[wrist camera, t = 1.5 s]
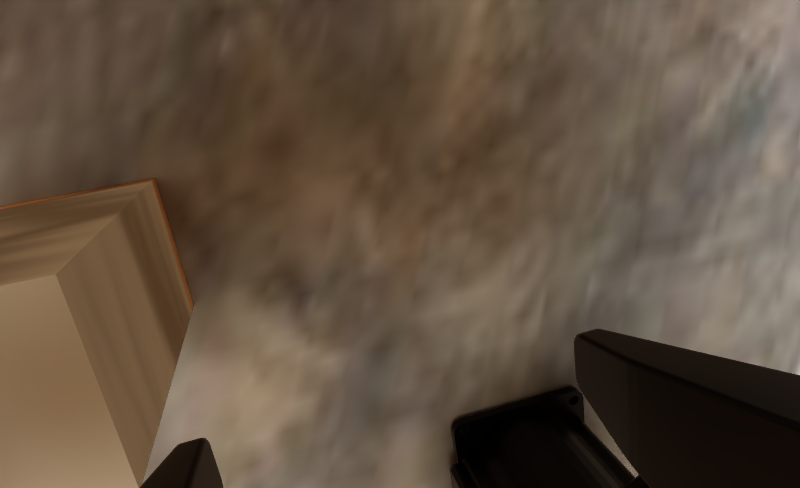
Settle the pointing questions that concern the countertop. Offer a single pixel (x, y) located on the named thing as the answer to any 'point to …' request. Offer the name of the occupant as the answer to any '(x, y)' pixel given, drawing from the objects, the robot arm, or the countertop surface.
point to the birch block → (87, 335)
